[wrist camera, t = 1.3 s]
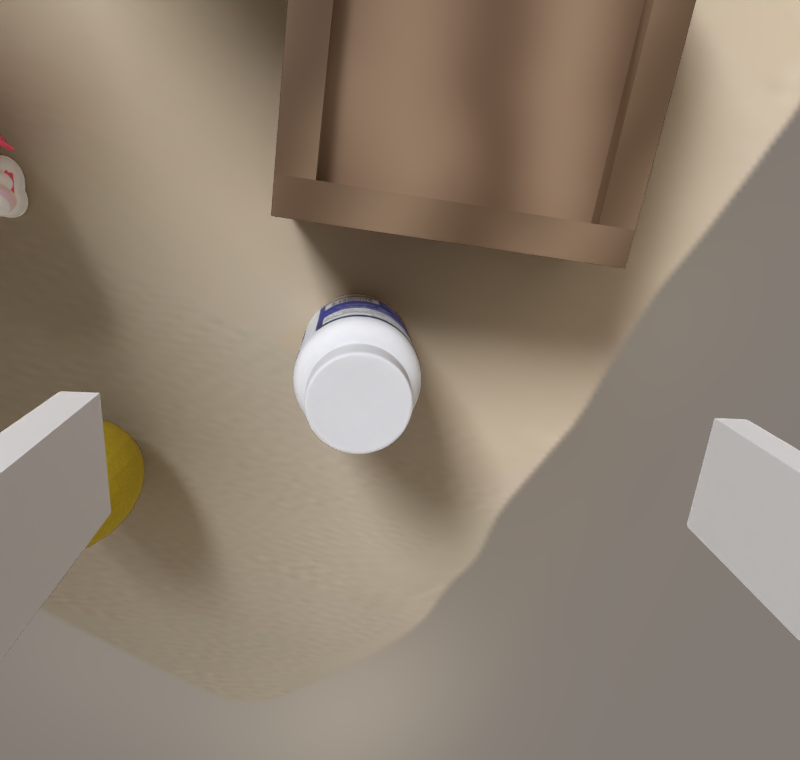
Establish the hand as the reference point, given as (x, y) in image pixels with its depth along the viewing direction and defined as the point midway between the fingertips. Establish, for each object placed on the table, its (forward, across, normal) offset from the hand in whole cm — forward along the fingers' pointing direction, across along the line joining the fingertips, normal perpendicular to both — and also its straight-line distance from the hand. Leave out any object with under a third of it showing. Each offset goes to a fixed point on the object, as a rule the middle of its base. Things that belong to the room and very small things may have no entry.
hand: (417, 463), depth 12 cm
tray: (+17, +3, +11) cm, 21 cm away
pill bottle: (+18, -1, -2) cm, 18 cm away
